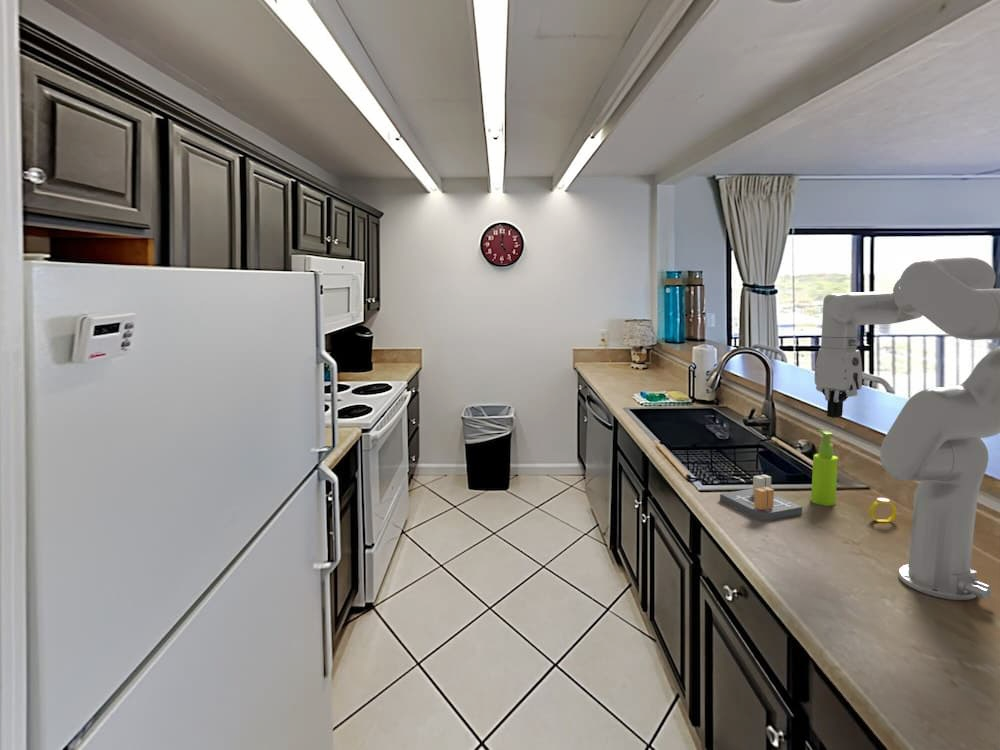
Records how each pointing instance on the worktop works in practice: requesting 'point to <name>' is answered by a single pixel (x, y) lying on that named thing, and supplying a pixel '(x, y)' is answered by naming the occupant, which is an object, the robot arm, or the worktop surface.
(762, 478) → the fader ivory
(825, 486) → the soap dispenser
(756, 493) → the fader orange
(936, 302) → the robot arm
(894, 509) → the watch
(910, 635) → the worktop surface
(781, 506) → the mixer panel
